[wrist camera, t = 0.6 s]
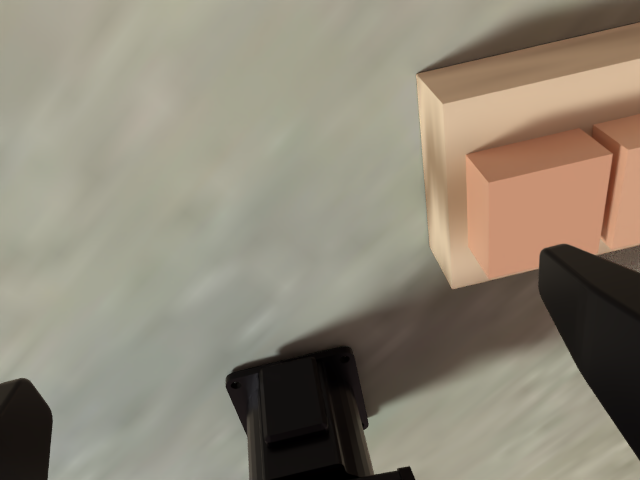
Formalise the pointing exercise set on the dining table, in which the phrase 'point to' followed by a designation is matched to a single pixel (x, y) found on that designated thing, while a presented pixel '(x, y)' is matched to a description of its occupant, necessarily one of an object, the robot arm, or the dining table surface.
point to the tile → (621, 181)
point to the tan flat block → (514, 120)
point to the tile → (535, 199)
